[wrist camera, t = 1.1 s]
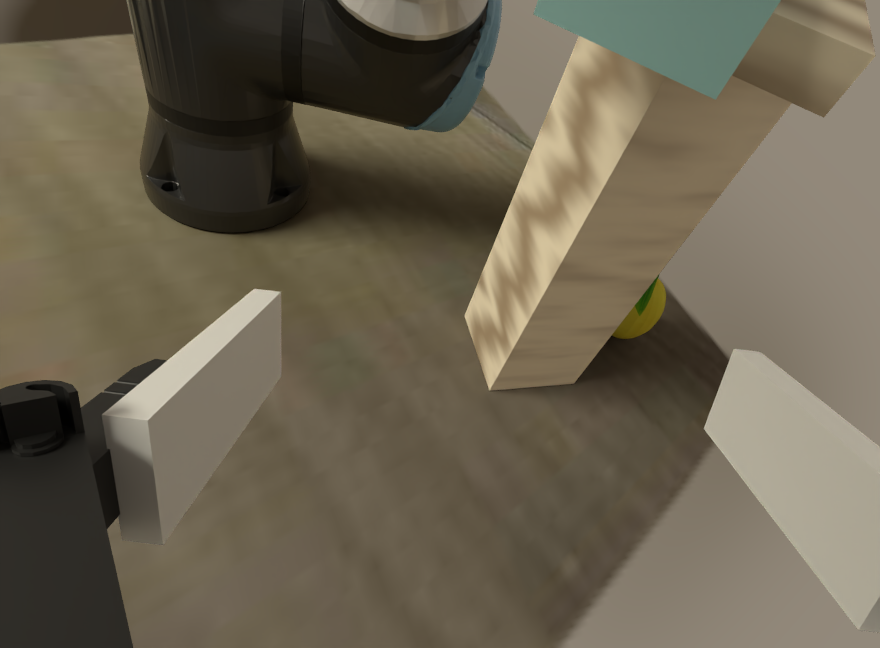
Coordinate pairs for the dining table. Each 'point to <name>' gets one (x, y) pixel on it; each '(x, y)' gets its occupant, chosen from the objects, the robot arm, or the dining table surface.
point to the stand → (637, 184)
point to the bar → (669, 33)
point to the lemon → (643, 312)
